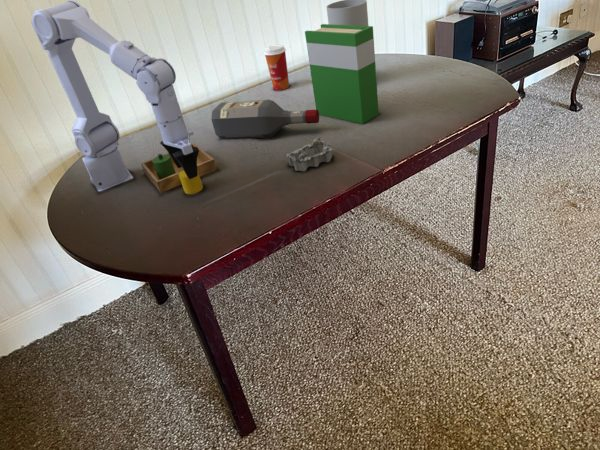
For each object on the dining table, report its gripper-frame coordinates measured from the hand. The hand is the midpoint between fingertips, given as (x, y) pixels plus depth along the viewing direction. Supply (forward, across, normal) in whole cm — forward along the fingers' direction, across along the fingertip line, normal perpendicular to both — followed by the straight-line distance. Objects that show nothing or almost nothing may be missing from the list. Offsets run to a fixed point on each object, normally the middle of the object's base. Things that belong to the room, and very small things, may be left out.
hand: (187, 171), depth 111 cm
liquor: (+1, +25, -19) cm, 32 cm away
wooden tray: (+6, +12, -1) cm, 13 cm away
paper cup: (+6, +46, -52) cm, 70 cm away
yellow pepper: (+5, 0, 0) cm, 5 cm away
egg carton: (+6, -10, -28) cm, 30 cm away
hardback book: (+6, +7, -52) cm, 53 cm away
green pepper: (+5, +12, +3) cm, 13 cm away
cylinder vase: (+6, +27, -70) cm, 75 cm away
